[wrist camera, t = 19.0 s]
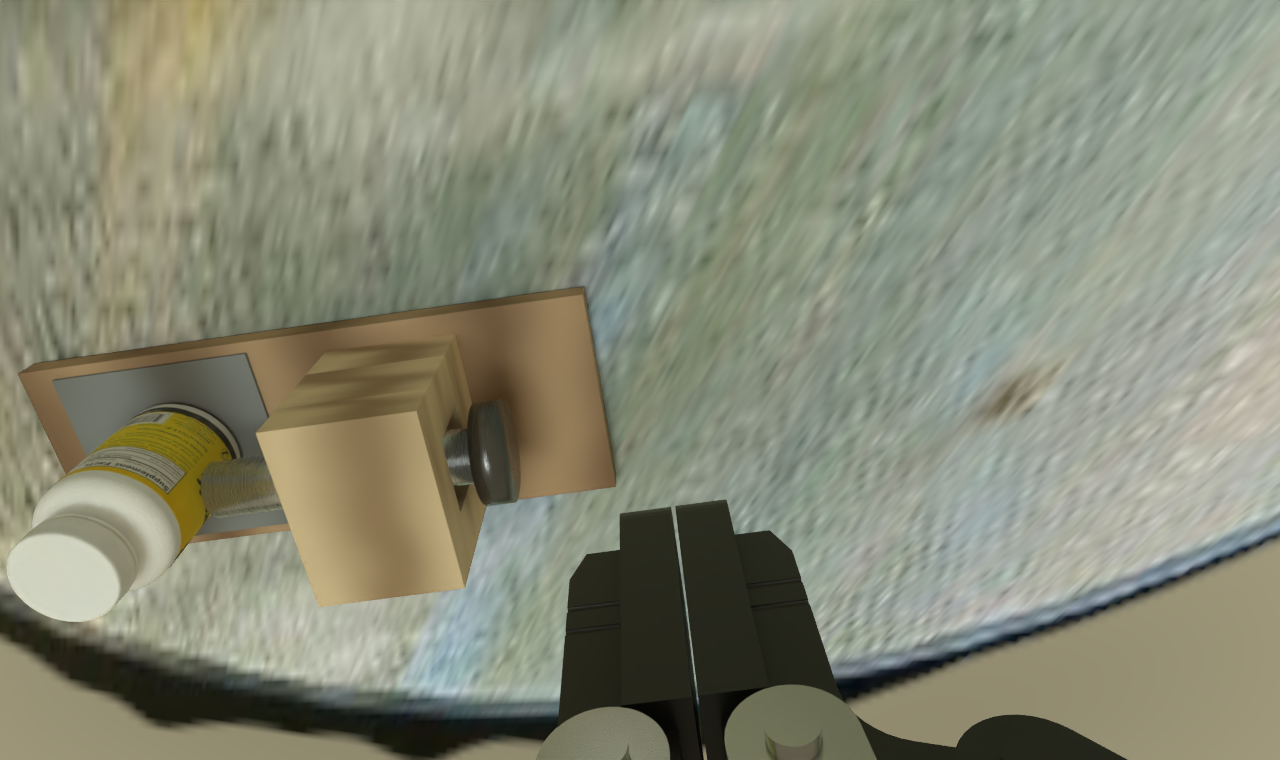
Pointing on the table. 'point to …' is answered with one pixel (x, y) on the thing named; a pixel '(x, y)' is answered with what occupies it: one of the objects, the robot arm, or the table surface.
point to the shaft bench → (495, 362)
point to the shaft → (470, 452)
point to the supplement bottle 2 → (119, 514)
